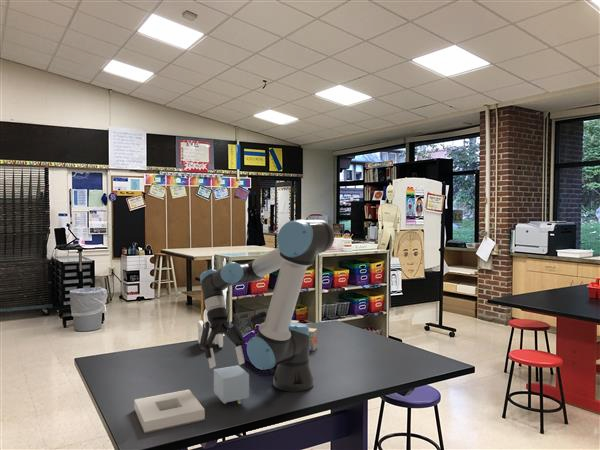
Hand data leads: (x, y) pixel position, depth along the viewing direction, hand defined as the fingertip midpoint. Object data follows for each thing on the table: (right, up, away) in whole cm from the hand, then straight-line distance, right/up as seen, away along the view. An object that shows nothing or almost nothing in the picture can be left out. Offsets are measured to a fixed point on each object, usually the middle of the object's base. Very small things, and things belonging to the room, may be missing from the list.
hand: (227, 365), depth 167 cm
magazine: (+6, -7, +63) cm, 64 cm away
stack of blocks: (+23, -8, +53) cm, 58 cm away
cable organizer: (-17, -7, +54) cm, 57 cm away
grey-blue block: (+3, -9, -11) cm, 14 cm away
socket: (-16, -10, -21) cm, 28 cm away
